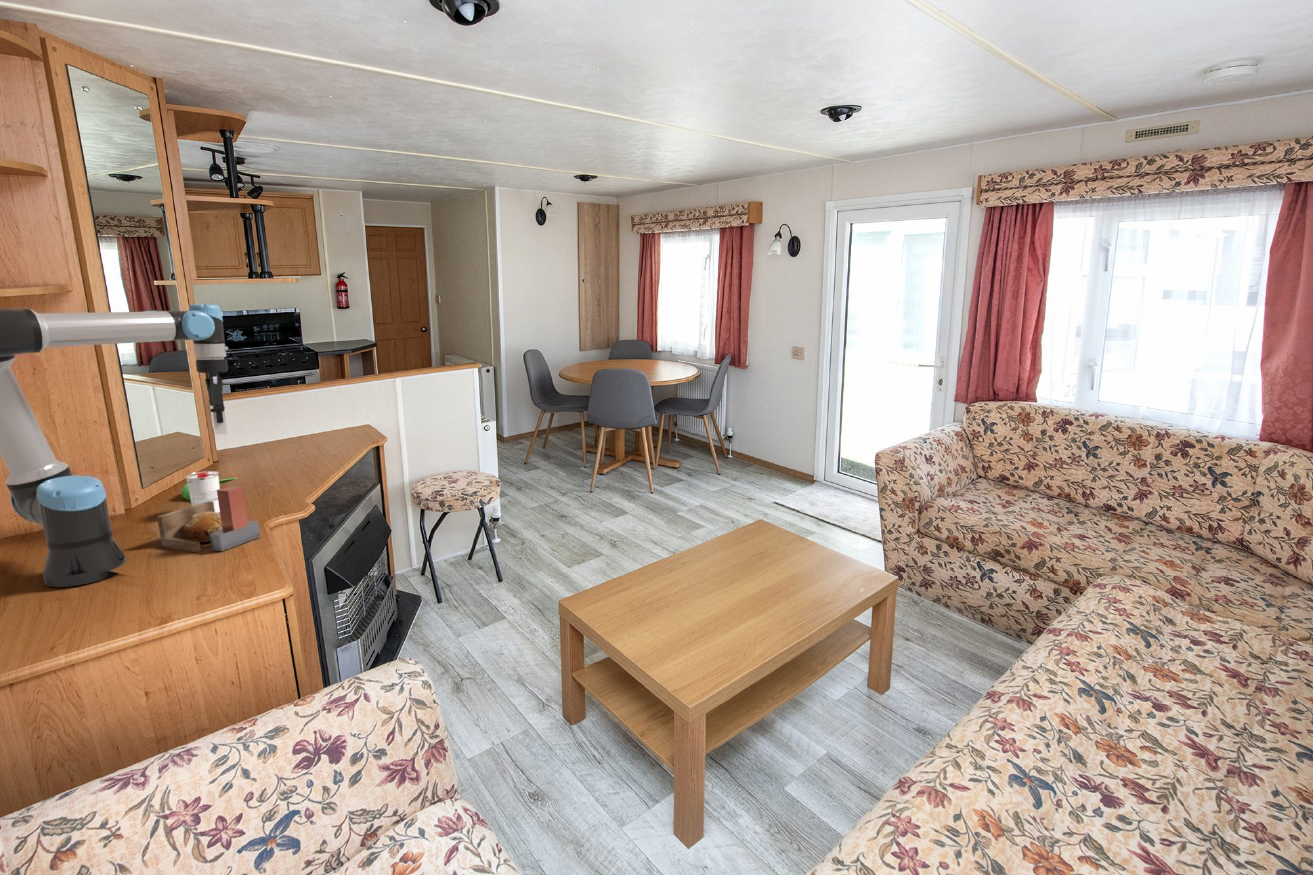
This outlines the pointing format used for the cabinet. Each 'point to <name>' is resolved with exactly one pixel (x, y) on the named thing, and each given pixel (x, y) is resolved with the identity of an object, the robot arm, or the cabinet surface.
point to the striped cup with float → (204, 488)
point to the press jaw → (233, 521)
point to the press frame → (180, 527)
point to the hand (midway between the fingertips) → (219, 430)
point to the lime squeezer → (186, 491)
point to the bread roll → (202, 526)
